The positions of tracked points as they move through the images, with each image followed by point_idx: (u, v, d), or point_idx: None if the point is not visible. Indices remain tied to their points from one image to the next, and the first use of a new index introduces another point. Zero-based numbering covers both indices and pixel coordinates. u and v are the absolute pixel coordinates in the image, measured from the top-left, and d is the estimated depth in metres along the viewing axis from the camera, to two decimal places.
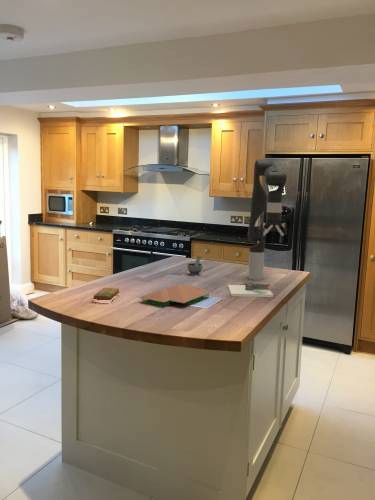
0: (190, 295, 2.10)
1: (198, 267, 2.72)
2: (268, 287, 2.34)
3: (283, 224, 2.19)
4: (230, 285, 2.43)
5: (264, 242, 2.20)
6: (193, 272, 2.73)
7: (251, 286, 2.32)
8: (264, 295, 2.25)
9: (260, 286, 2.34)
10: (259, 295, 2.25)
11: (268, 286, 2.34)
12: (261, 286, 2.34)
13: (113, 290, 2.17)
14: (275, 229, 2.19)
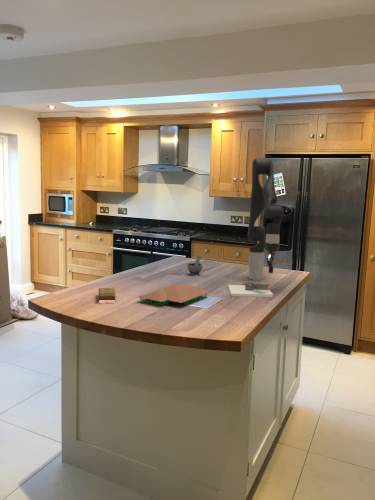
0: (188, 294, 2.11)
1: (198, 267, 2.72)
2: (268, 287, 2.34)
3: None
4: (230, 285, 2.43)
5: (272, 272, 2.38)
6: (193, 272, 2.73)
7: (251, 286, 2.32)
8: (264, 295, 2.25)
9: (260, 286, 2.34)
10: (259, 295, 2.25)
11: (268, 286, 2.34)
12: (261, 286, 2.34)
13: (111, 290, 2.18)
14: None
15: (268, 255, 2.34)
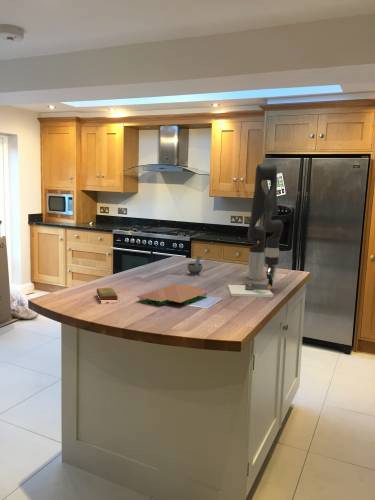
0: (188, 294, 2.11)
1: (198, 267, 2.72)
2: (268, 287, 2.34)
3: None
4: (230, 285, 2.43)
5: (271, 285, 2.39)
6: (193, 272, 2.73)
7: (251, 286, 2.32)
8: (264, 295, 2.25)
9: (260, 286, 2.34)
10: (259, 295, 2.25)
11: (268, 286, 2.34)
12: (261, 286, 2.34)
13: (111, 289, 2.18)
14: None
15: (268, 269, 2.35)
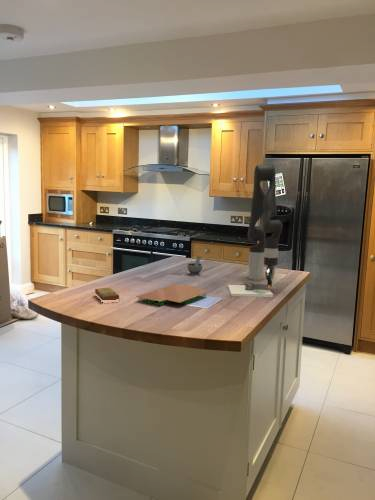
0: (187, 294, 2.11)
1: (198, 267, 2.72)
2: (268, 287, 2.34)
3: None
4: (230, 285, 2.43)
5: (271, 286, 2.36)
6: (193, 272, 2.73)
7: (251, 286, 2.32)
8: (264, 295, 2.25)
9: (260, 286, 2.34)
10: (259, 295, 2.25)
11: (268, 286, 2.34)
12: (261, 286, 2.34)
13: (110, 289, 2.18)
14: None
15: (267, 269, 2.32)
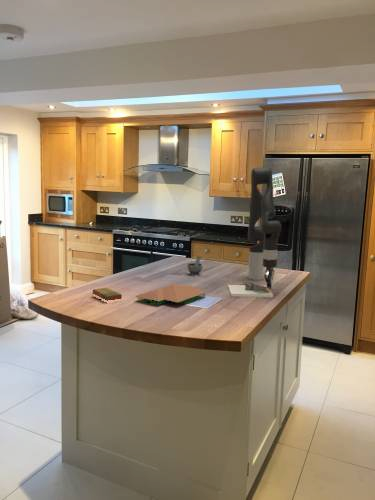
0: (186, 294, 2.11)
1: (198, 267, 2.72)
2: (266, 289, 2.28)
3: None
4: (230, 285, 2.43)
5: None
6: (193, 272, 2.73)
7: (248, 286, 2.32)
8: (264, 295, 2.25)
9: (258, 287, 2.31)
10: (259, 295, 2.25)
11: (266, 288, 2.28)
12: (259, 287, 2.30)
13: (108, 289, 2.18)
14: None
15: (266, 272, 2.26)
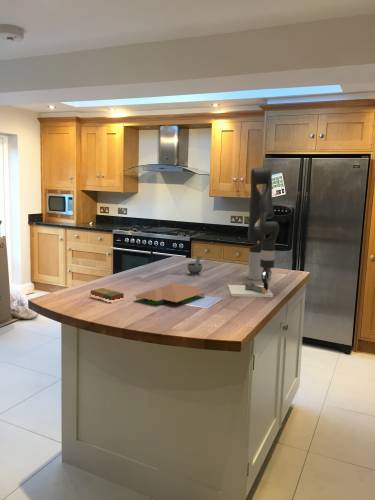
0: (184, 294, 2.11)
1: (198, 267, 2.72)
2: (261, 290, 2.26)
3: None
4: (230, 285, 2.43)
5: (267, 289, 2.31)
6: (193, 272, 2.73)
7: (247, 286, 2.33)
8: (264, 295, 2.25)
9: (256, 288, 2.29)
10: (259, 295, 2.25)
11: (261, 289, 2.26)
12: (256, 288, 2.29)
13: (107, 289, 2.18)
14: None
15: (263, 272, 2.27)
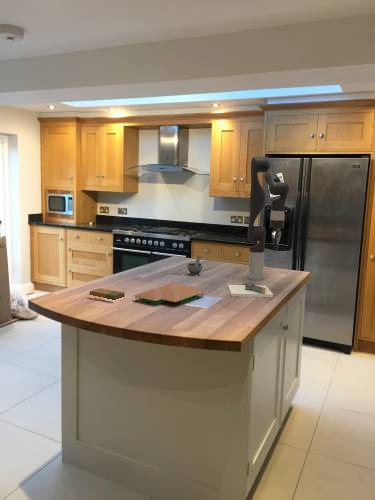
0: (183, 294, 2.12)
1: (198, 267, 2.72)
2: (261, 290, 2.26)
3: None
4: (230, 285, 2.43)
5: None
6: (193, 272, 2.73)
7: (247, 286, 2.33)
8: (264, 295, 2.25)
9: (256, 288, 2.29)
10: (259, 295, 2.25)
11: (261, 289, 2.26)
12: (256, 288, 2.29)
13: (105, 289, 2.18)
14: None
15: (273, 232, 2.31)
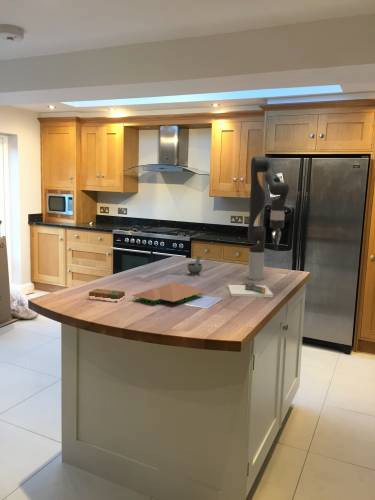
0: (182, 294, 2.12)
1: (198, 267, 2.72)
2: (261, 290, 2.26)
3: None
4: (230, 285, 2.43)
5: None
6: (193, 272, 2.73)
7: (247, 286, 2.33)
8: (264, 295, 2.25)
9: (256, 288, 2.29)
10: (259, 295, 2.25)
11: (261, 289, 2.26)
12: (256, 288, 2.29)
13: (104, 289, 2.18)
14: None
15: (273, 232, 2.31)
